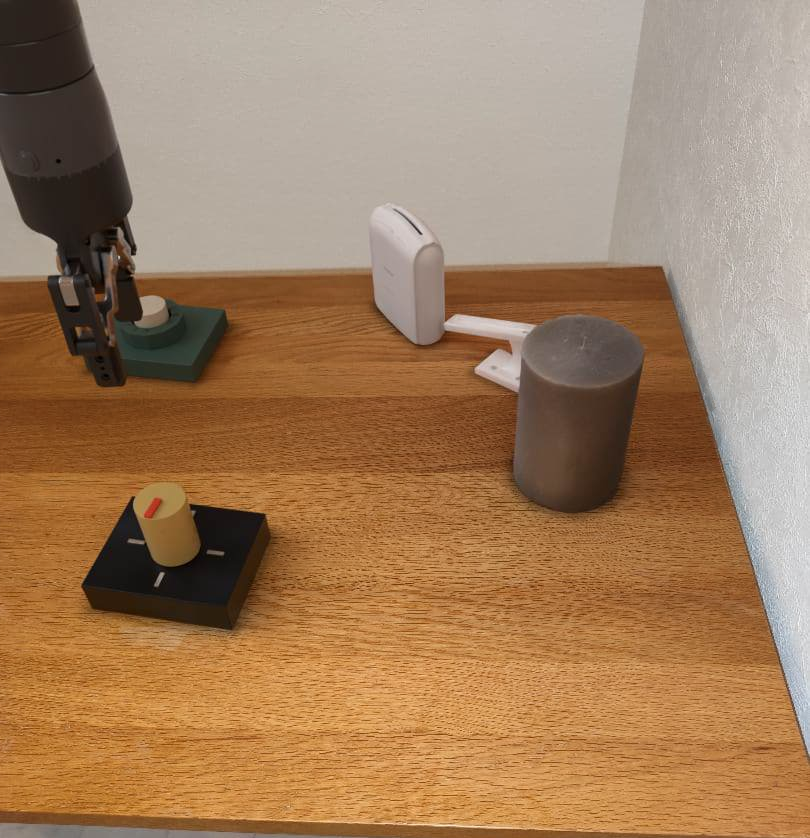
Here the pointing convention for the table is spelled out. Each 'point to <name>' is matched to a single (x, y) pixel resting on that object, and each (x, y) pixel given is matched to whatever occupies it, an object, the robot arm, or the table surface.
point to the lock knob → (167, 523)
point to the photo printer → (408, 273)
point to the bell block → (171, 343)
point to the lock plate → (181, 570)
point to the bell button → (152, 312)
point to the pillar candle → (575, 410)
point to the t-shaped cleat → (499, 363)
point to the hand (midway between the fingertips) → (122, 350)
